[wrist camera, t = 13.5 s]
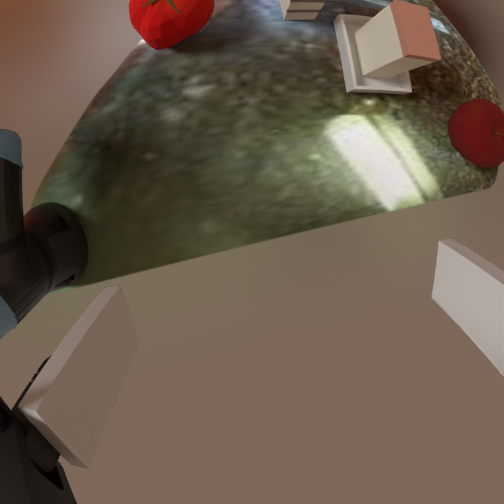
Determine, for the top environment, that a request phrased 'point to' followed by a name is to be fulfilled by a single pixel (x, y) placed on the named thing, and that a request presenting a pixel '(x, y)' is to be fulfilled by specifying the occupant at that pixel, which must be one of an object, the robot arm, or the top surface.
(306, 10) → the block
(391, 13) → the stub
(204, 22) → the tomato
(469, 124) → the apple
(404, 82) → the tray
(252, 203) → the top surface
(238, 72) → the top surface
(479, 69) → the top surface
